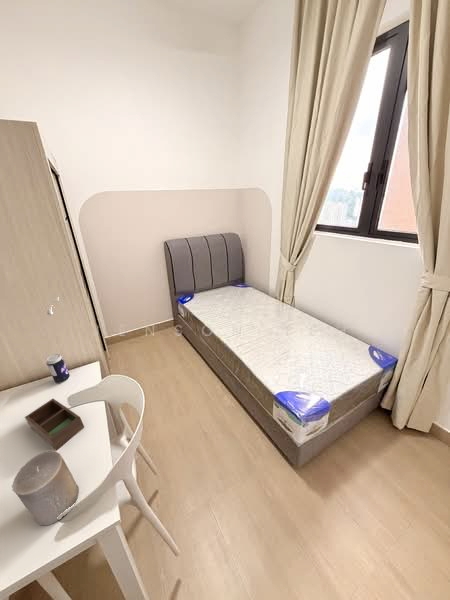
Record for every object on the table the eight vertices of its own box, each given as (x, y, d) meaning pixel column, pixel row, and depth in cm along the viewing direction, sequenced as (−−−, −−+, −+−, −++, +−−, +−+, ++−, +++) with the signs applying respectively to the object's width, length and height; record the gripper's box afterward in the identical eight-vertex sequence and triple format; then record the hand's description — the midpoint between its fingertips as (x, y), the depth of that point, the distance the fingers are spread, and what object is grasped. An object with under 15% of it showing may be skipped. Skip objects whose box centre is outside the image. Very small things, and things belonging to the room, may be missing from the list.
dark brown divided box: (30, 427, 83) (24, 417, 81) (57, 408, 90) (53, 398, 88) (56, 450, 74) (51, 439, 72) (84, 427, 82) (80, 416, 79)
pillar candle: (69, 474, 68) (50, 439, 61) (86, 496, 62) (67, 461, 56) (29, 509, 60) (3, 473, 54) (44, 537, 55) (17, 501, 49)
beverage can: (67, 383, 102) (57, 360, 97) (53, 385, 101) (42, 363, 96) (72, 374, 107) (63, 352, 102) (58, 376, 106) (48, 354, 101)
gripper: (-1, 292, 97) (4, 324, 94) (53, 279, 101) (60, 309, 98) (11, 296, 103) (16, 326, 100) (61, 283, 107) (67, 312, 104)
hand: (38, 318), depth 99 cm, fingers open, 8 cm apart
